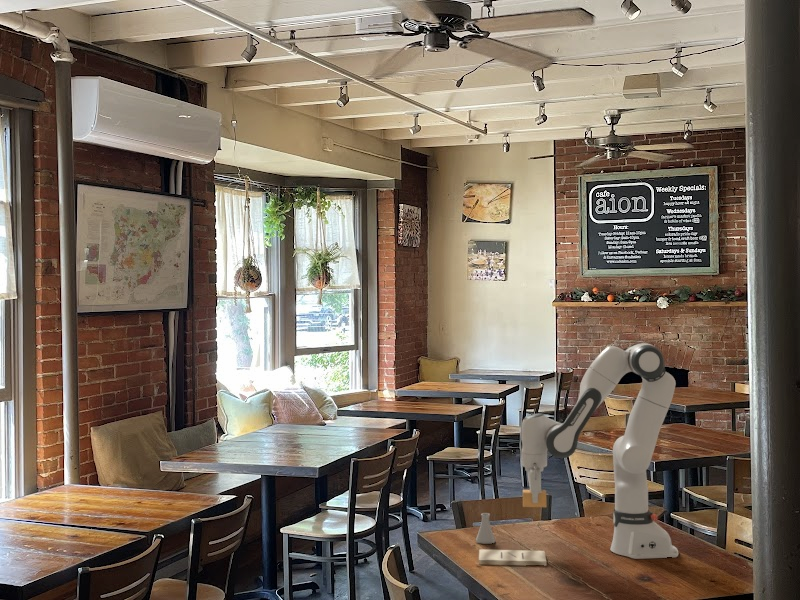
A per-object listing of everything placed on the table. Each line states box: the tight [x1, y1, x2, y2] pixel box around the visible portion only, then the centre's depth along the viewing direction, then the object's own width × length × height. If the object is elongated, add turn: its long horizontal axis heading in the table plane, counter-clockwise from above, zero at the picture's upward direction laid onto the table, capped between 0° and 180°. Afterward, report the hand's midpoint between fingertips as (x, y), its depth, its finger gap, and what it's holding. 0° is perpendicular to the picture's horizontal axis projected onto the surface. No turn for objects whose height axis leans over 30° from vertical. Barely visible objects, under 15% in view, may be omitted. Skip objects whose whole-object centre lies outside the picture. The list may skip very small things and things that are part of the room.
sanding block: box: [522, 489, 547, 508], centre depth 323 cm, size 8×4×5 cm, turn 83°
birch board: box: [478, 548, 548, 567], centre depth 311 cm, size 22×12×2 cm, turn 84°
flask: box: [475, 512, 496, 545], centre depth 333 cm, size 7×7×10 cm
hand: (534, 500), depth 323 cm, fingers closed on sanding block, 4 cm apart
